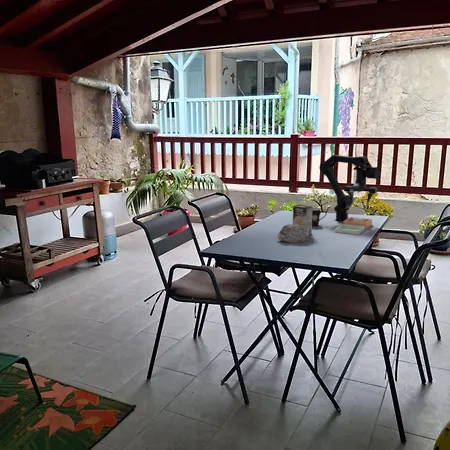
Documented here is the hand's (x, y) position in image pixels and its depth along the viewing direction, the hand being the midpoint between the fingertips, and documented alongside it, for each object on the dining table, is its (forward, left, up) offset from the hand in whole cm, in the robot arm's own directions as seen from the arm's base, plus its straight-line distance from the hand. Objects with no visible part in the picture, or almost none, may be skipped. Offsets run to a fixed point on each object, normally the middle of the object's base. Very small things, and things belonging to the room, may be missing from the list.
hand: (360, 203), depth 275 cm
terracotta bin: (+2, -9, -12) cm, 15 cm away
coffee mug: (-21, -17, -12) cm, 30 cm away
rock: (-18, -56, -12) cm, 60 cm away
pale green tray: (+2, -23, -12) cm, 26 cm away
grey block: (+2, -9, -12) cm, 15 cm away
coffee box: (-19, -41, -12) cm, 47 cm away
